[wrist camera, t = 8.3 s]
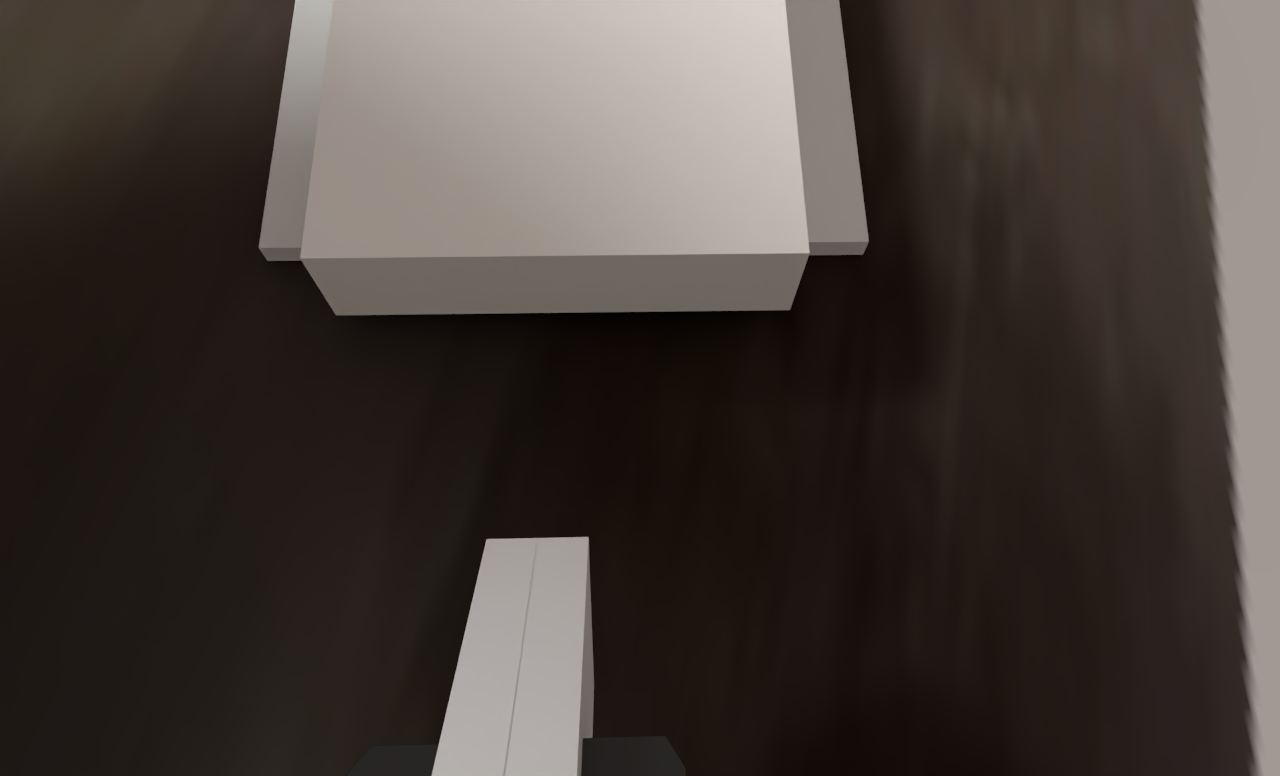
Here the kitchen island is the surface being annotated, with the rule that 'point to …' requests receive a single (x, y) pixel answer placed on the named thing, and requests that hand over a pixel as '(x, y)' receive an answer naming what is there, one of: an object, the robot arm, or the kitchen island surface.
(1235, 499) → the kitchen island surface
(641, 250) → the tile
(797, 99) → the mat
